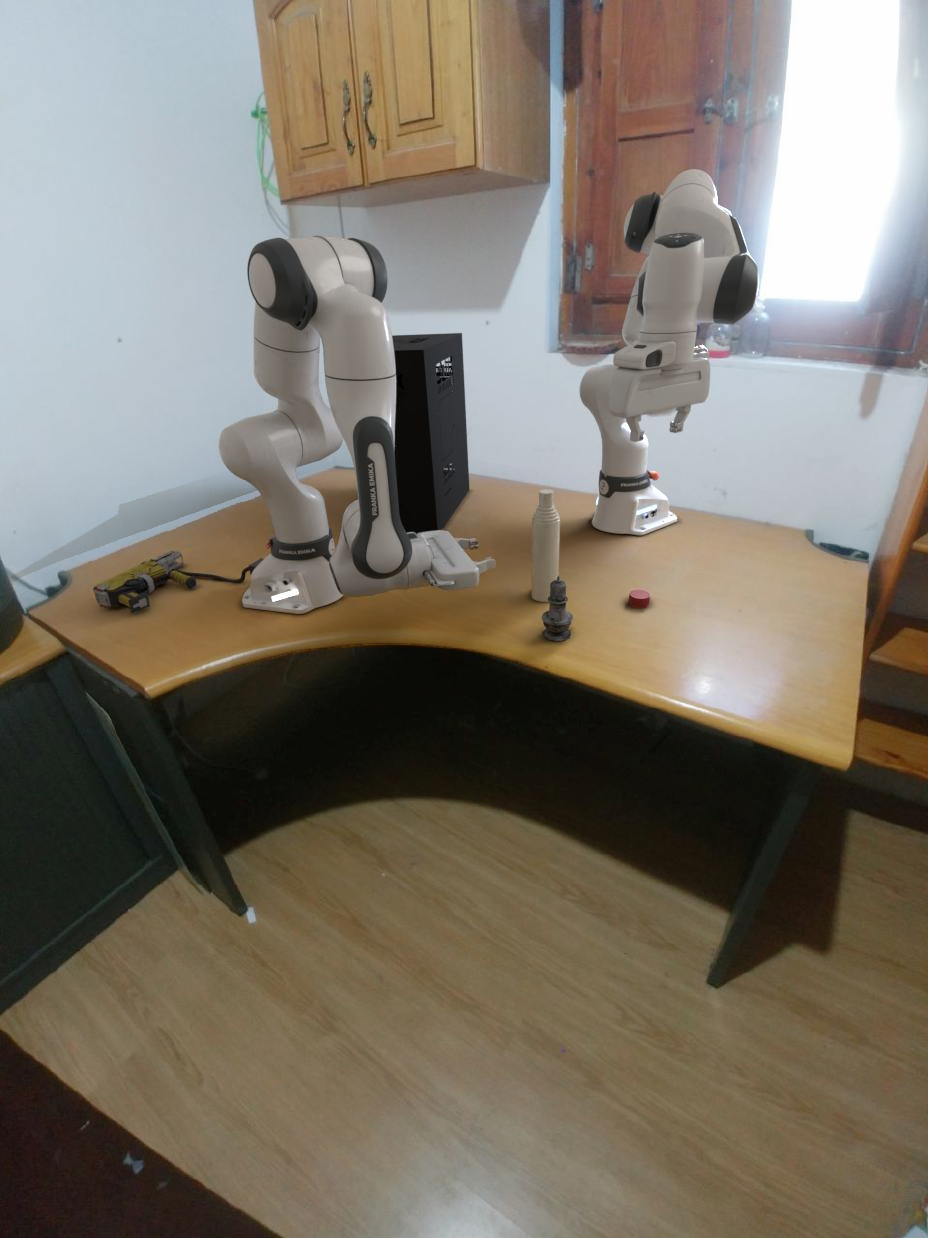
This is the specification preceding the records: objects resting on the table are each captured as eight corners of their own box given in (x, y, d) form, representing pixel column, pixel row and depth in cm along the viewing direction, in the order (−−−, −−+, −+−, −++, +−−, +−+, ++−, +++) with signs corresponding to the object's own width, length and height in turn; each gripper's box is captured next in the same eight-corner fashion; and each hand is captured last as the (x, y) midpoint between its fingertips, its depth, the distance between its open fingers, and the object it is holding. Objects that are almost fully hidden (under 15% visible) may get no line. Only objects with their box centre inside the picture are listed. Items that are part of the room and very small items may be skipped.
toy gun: (220, 558, 145) (169, 547, 149) (142, 600, 125) (86, 587, 129) (223, 576, 147) (173, 565, 151) (147, 620, 127) (92, 606, 131)
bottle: (541, 604, 124) (542, 497, 112) (526, 594, 128) (526, 490, 117) (563, 597, 126) (566, 492, 115) (547, 587, 130) (549, 484, 119)
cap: (652, 601, 123) (653, 592, 121) (644, 609, 120) (645, 600, 119) (633, 596, 125) (633, 587, 124) (625, 604, 122) (626, 595, 121)
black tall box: (438, 535, 159) (423, 349, 136) (366, 532, 163) (340, 351, 140) (469, 489, 190) (461, 332, 168) (408, 488, 195) (393, 335, 172)
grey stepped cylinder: (571, 642, 110) (574, 584, 104) (539, 640, 111) (540, 582, 105) (573, 626, 115) (576, 569, 109) (542, 624, 116) (543, 568, 110)
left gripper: (431, 572, 105) (505, 559, 108) (403, 529, 121) (468, 519, 125) (433, 603, 108) (505, 590, 111) (406, 557, 125) (469, 547, 128)
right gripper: (695, 342, 105) (684, 424, 112) (605, 355, 97) (600, 442, 104) (725, 345, 100) (712, 430, 107) (633, 358, 92) (626, 449, 99)
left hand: (485, 552), depth 118 cm, fingers open, 8 cm apart
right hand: (656, 436), depth 105 cm, fingers open, 8 cm apart
